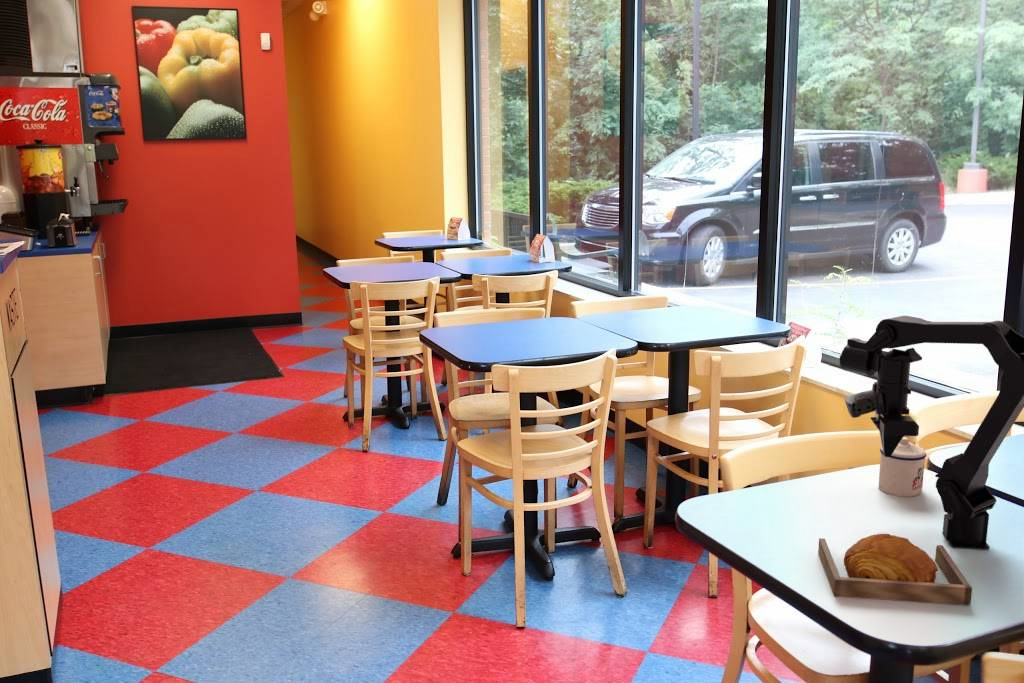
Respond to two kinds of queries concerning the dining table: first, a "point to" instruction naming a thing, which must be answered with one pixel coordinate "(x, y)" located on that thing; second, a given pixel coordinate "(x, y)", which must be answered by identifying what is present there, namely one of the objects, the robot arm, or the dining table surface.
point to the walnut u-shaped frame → (900, 583)
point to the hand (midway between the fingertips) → (887, 456)
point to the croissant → (889, 560)
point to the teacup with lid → (902, 470)
